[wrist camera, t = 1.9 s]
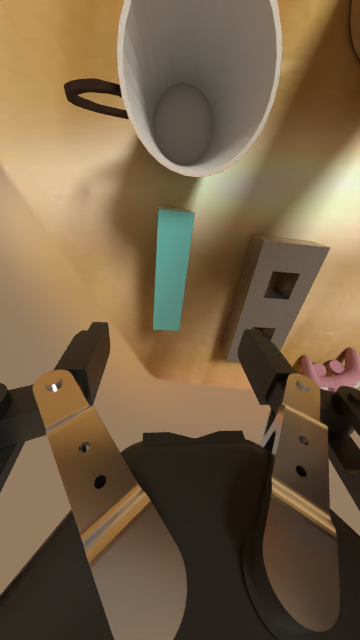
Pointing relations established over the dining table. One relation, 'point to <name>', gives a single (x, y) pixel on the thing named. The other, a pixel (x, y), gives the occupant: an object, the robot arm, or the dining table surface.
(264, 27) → the coffee mug
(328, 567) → the robot arm
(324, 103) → the dining table surface
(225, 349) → the slotted rail
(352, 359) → the video game controller
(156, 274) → the two prong clip
